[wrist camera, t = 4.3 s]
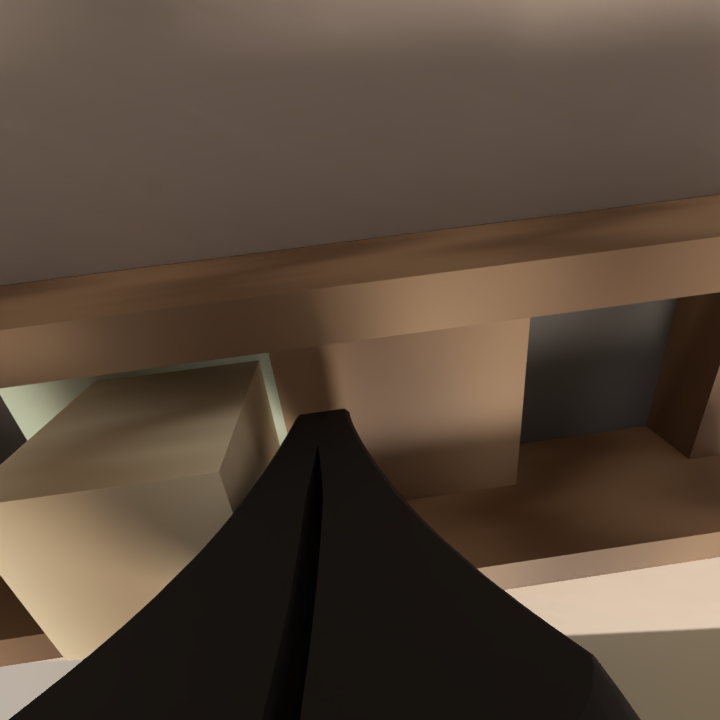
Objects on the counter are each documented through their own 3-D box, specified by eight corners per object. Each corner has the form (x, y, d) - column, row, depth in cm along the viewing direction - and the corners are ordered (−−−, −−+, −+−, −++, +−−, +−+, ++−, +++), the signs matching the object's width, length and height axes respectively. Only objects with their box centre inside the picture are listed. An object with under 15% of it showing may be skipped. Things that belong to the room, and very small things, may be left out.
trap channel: (732, 193, 11) (981, 202, 7) (662, 441, 14) (795, 545, 10) (-242, 316, 10) (-627, 412, 6) (-54, 544, 14) (-213, 699, 10)
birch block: (258, 360, 10) (219, 471, 6) (289, 484, 11) (272, 629, 8) (93, 381, 9) (-51, 509, 6) (150, 503, 11) (66, 660, 8)
